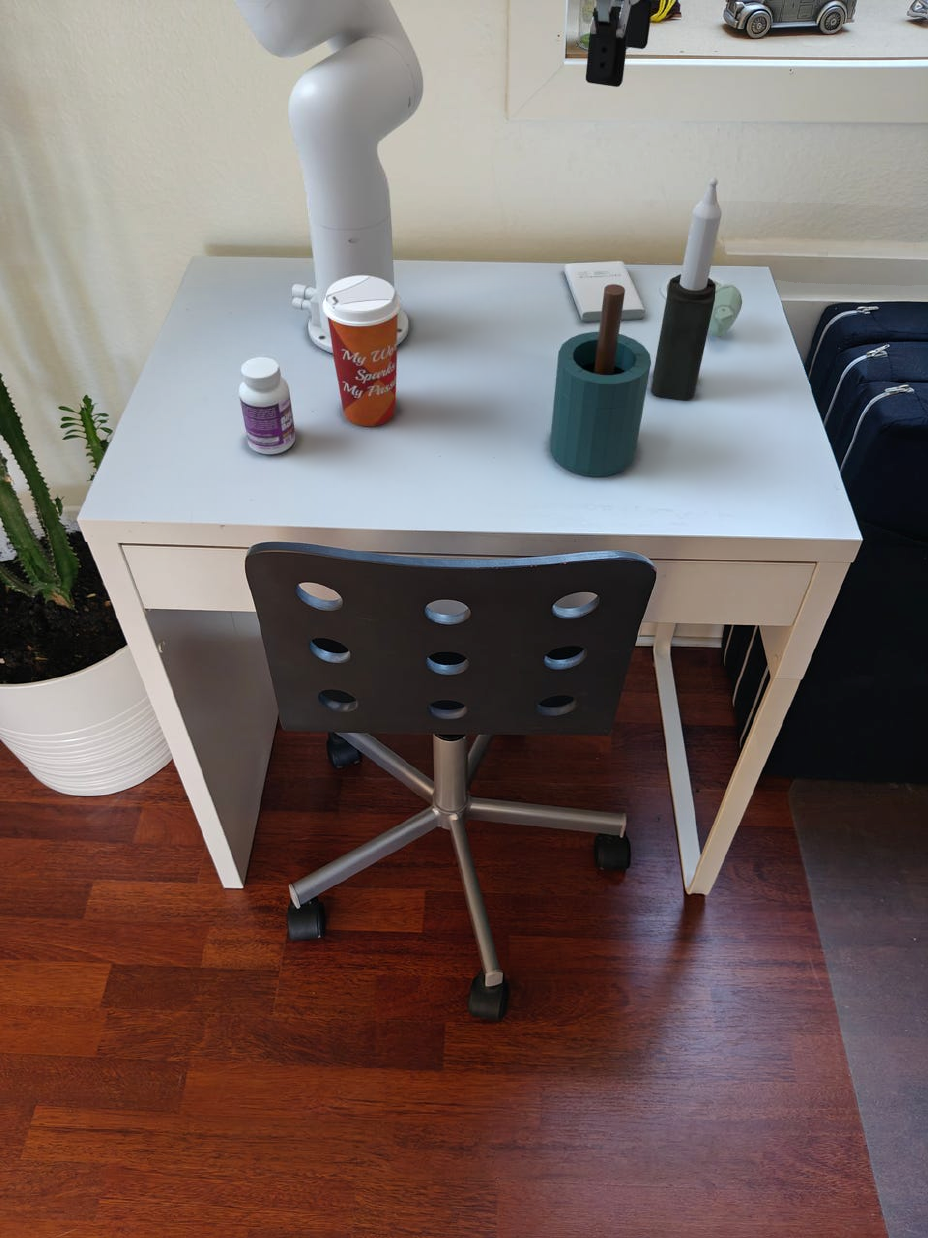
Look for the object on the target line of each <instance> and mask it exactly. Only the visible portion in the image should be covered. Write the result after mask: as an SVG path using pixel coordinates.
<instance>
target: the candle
mask: <svg viewBox="0 0 928 1238" xmlns="http://www.w3.org/2000/svg"><path fill="white" fill-rule="evenodd" d="M718 183H719V182H718V179H717V178H716V177H712V178H710V179H709V181H708V184H709V185H708V187H707V188H706V191H705V193H704V195H703V197H702V199H701V200H700V201H699V202H698V203H697V204H696V205H695V206H694V208H693V209H692V210H693V211H692V213H691V214H692V216H691V220H690V226H689V231H688V237H687V240H686V241H687V242H686V248H685V252H684V256H683V257H684V258H683V263H682V268H681V273H679V274H677V275H675V276H674V277H672V278H670V280H669V282H668V289H667V293H666V299H665V304H664V310H663V316H662V322H661V327H660V331H659V332H660V333H659V338H658V344H657V349H656V356H655V361H654V368H653V372H652V381H651V387H650V393H651V394H652V395H653V396H655V397H656V398H662V399H663V398H664V399H669V400H670V399H671V400H677V401H678V400H679V401H690V400H692V399H693V398H694V397H695V393H696V389H697V385H698V379H699V375H700V370H701V365H702V361H703V357H704V352H705V347H706V343H707V338H708V333H709V325H710V320H711V315H712V311H713V306H714V302H715V292H716V285H715V284H716V283H715V282H714V281H713V280H712V279H711V278H710V272H711V268H712V262H713V258H714V252H715V248H716V243H717V238H718V235H719V234H718V233H719V230H720V224H721V219H722V215H723V214H722V213H723V212H722V208H721V207H720V204H719V202H718V194H717V185H718Z"/></svg>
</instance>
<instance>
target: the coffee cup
mask: <svg viewBox="0 0 928 1238" xmlns="http://www.w3.org/2000/svg"><path fill="white" fill-rule="evenodd" d="M400 296H401V295H399V293H398V290H396V288H395V286H394V287H392V285H391V284H390V283H388V282H387V281H385V280H383V279H380V278H377V277H373V276H365V275H361V276H351V277H347V278H343V279H341V280H338V281H337V282H335V283H333V284H332V285H331V286H330V287H329V289H328V290H327V293H326V298H325V300H324V302H323V310H324V313H325V314H326V315H327V317H328V323H329V329H330V335H331V342H332V349H333V353H332V356H333V363H334V368H335V373H336V377H337V383H338V388H339V395H340V400H341V405H342V406H341V407H342V410H343V414H344V416H345V418H346V419H347V420H348V421H349V422H350V423H352V424H354V425H357V426H361V427H375V426H376V427H377V426H380V425H384V424H385V423H387V422H389V421H390V420H391V419H392V418H393V417H394V415H395V413H396V401H397V371H398V370H397V369H398V367H397V365H398V345H397V321H398V312H399V310H400V308H401V307H402V302H401V301H402V298H401V297H400Z"/></svg>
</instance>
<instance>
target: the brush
mask: <svg viewBox="0 0 928 1238" xmlns="http://www.w3.org/2000/svg"><path fill="white" fill-rule="evenodd" d="M624 295H625V289H624V287H622V286H620V285H617V284H611V285H607V286H606V287H605V288H604V296H603V304H602V312H601V320H600V322H599V329H598V332H599V336H598V344H597V352H596V360H595V368H594V374H599V375H613V372H614V365H615V358H616V351H617V344H618V337H619V334H620V329H621V322H622V320H621V316H622V309H623V302H624Z"/></svg>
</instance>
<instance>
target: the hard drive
mask: <svg viewBox="0 0 928 1238" xmlns="http://www.w3.org/2000/svg"><path fill="white" fill-rule="evenodd" d="M564 275H565V278H566V281H567V283H568V286H569V289H570V292H571V294H572V297H573V300H574V304H575V305H576V308H577V312H578V314H579V317H580V320H581V322H583V323H600V320H601V312H602V304H603V296H604V288H605V287H606V286H607V285H611V284H617V285H620V286H622V287H624V289H625V295H624V302H623V309H622V316H621V321H636V320H642V319H644V318H645V313H646V310H645V307H644V305H643V302H642V301H641V298H640V296H639V294H638V291H637V289H636V287H635V285H634V283H633V280H632V277H631V275H630V273H629V271H628V268H627V267H626V264H625V262H624V261H623V260H616V261H615V260H613V261H594V262H593V261H592V262H591V261H590V262H574V263H573V262H572V263H567V264H565V265H564Z"/></svg>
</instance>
